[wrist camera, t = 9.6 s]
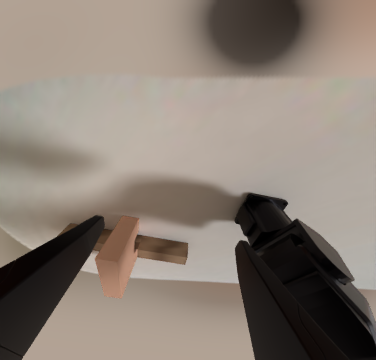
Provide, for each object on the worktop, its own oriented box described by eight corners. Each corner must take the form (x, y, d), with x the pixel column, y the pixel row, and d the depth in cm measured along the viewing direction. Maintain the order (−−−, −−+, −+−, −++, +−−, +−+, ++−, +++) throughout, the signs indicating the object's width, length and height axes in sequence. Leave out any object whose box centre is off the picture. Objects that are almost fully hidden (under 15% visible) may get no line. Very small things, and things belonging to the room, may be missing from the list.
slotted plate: (138, 218, 25) (117, 262, 18) (137, 255, 31) (121, 298, 24) (122, 215, 25) (94, 258, 18) (124, 252, 31) (104, 296, 24)
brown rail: (188, 243, 28) (187, 257, 26) (185, 250, 29) (184, 264, 27) (70, 223, 27) (56, 236, 24) (73, 231, 28) (60, 244, 25)
